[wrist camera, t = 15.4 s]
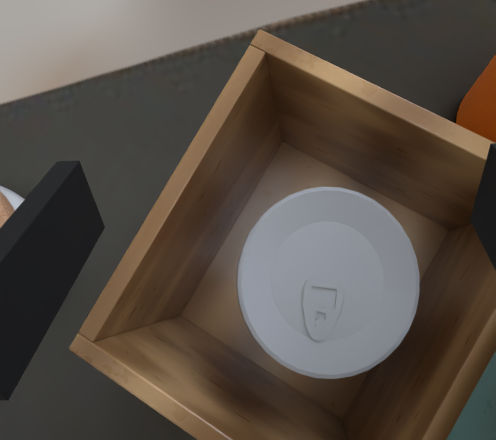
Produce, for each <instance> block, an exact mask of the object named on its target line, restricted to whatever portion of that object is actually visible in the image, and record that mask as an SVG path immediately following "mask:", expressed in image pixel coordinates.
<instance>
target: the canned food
mask: <svg viewBox="0 0 496 440" xmlns="http://www.w3.org/2000/svg"><path fill="white" fill-rule="evenodd" d="M419 284H420V275H419V269H418V264H417V258H416V255H415V252H414V250H413V247H412V244H411V242H410V239H409V238H408V236H407V234H406V233H405V231H404V229H403V228H402V226H401V225H400V223H399V222H398V221H397V220H396V219H395V218H394V217H393V215H392V214H391V213H390V212H389V211H388V210H387V209H385V208H384V207H383V206H381V205H380V204H379V203H377V202H376V201H375V200H373V199H371V198H369V197H367V196H365V195H363V194H361V193H359V192H356V191H352V190H348V189H344V188H340V187H317V188H311V189H305V190H302V191H300V192H297V193H294V194H292V195H289V196H288V197H286V198H284V199H283V200H281V201H279V202H278V203H276V204H275V205H273V206H272V207H271V208H270V209H269V210H268V211H267V212H266V213H264V214H263V215H262V216H261V217H260V218H259V220H258V221H257V223H256V224H255V225H254V227H253V228H252V229H251V231H250V232H249V234H248V237H247V239H246V241H245V243H244V245H243V247H242V250H241V254H240V258H239V262H238V266H237V281H236V286H237V294H238V303H239V306H240V309H241V312H242V315H243V319H244V321H245V323H246V325H247V327H248V329H249V331H250V332H251V334H252V336H253V338H254V339H255V340H256V341H257V342H258V344H259V345H260V346H261V347H262V349H263V350H264V351H265V352H266V353H267V354H269V355H270V356H271V357H272V358H274V359H275V360H276V361H277V362H278V363H280V364H281V365H283V366H285V367H287V368H289V369H291V370H293V371H295V372H297V373H299V374H303V375H307V376H310V377H314V378H325V379H337V378H344V377H350V376H354V375H357V374H359V373H362V372H364V371H367V370H369V369H371V368H373V367H374V366H376V365H377V364H379V363H380V362H382V361H383V360H385V359H386V358H387V357H388V356H389V355H390V354H391V353H392V352H393V351H394V350H395V349H396V348H397V347H398V346H399V344H400V343H401V341H402V340H403V338H404V337H405V335H406V334H407V332H408V331H409V328H410V326H411V323H412V321H413V318H414V316H415V313H416V309H417V304H418V299H419Z"/></svg>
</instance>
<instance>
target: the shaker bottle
mask: <svg viewBox="0 0 496 440" xmlns="http://www.w3.org/2000/svg"><path fill="white" fill-rule="evenodd" d="M456 124H457V125H459V126H461V127H463V128H465V129H468V130H470V131H472V132H474V133H476V134H478V135H480V136H482V137H484V138H486V139H488V140H490V141H492V142H495V143H496V55H495V56H494V57H493V59H492V60H491V61H490V63H489V64H488V65H487V67H486V68H485V70H484V71H483V72H482V74H481V75H480V76H479V78H478V79H477V80H476V82H475V83H474V84H473V86H472V87H471V88H470V90H469V91H468V92H467V94H466V95H465V97H464V98H463V100H462V102H461V104H460V106H459V109H458V112H457V118H456Z"/></svg>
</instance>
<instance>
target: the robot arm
mask: <svg viewBox="0 0 496 440" xmlns="http://www.w3.org/2000/svg"><path fill="white" fill-rule="evenodd" d="M470 221H471V223H472V225H473V227H474V229H475V231H476V233H477V235H478V237H479V239H480V241H481V243H482V245H483V247H484V249H485V251H486V253H487V255H488V257H489V259H490V261H491V263H492V265H493V266H494V268H495V270H496V143H492V144H490V148H489V151H488V155H487V159H486V162H485V166H484V170H483V173H482V177H481V181H480V185H479V188H478V192H477V196H476V199H475V203H474V207H473V210H472V214H471V218H470ZM104 228H105V227H104V224H103V221H102V219H101V216H100V214H99V211H98V208H97V206H96V203H95V201H94V198H93V195H92V193H91V190H90V188H89V185H88V182H87V180H86V177H85V175H84V172H83V169H82V167H81V164H80V161H62V162H56V164H55V165H54V166H53V167H52V168H51V169H50V171H49V172H48V173H47V174H46V175H45V176H44V178H43V179H42V180H41V181H40V182H39V183H38V185H37V186H36V187H35V188H34V189H33V190H32V191H31V193H30V194H29V195H28V196H27V197H26V198H25V200H24V201H23V202H22V203H21V204H20V205H19V207H18V208H17V209H16V210H15V211H14V212H13V214H12V215H11V216H10V217H9V218H8V219H7V221H6V222H5V223H4V224H3V225H2V226H1V228H0V400H9V398H10V396H11V395H12V393H13V391H14V389H15V387H16V386H17V384H18V382H19V380H20V378H21V377H22V375H23V373H24V371H25V369H26V368H27V366H28V364H29V362H30V360H31V359H32V357H33V355H34V353H35V351H36V350H37V348H38V346H39V344H40V343H41V341H42V339H43V337H44V335H45V334H46V332H47V330H48V328H49V326H50V325H51V323H52V321H53V319H54V317H55V316H56V314H57V312H58V310H59V308H60V307H61V305H62V303H63V301H64V299H65V298H66V296H67V294H68V292H69V290H70V289H71V287H72V285H73V283H74V282H75V280H76V278H77V276H78V274H79V273H80V271H81V269H82V267H83V265H84V264H85V262H86V260H87V258H88V256H89V255H90V253H91V251H92V249H93V247H94V246H95V244H96V242H97V240H98V238H99V237H100V235H101V233H102V231H103V229H104Z"/></svg>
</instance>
